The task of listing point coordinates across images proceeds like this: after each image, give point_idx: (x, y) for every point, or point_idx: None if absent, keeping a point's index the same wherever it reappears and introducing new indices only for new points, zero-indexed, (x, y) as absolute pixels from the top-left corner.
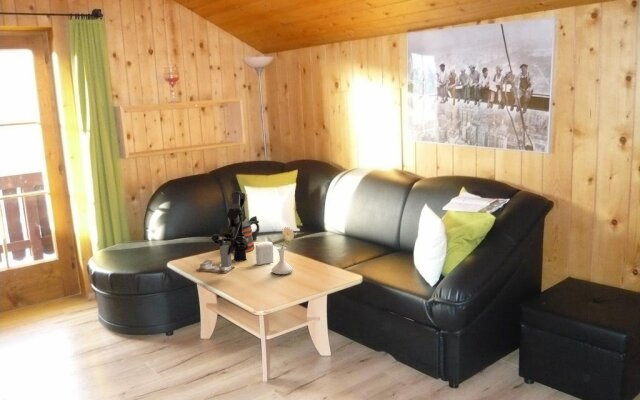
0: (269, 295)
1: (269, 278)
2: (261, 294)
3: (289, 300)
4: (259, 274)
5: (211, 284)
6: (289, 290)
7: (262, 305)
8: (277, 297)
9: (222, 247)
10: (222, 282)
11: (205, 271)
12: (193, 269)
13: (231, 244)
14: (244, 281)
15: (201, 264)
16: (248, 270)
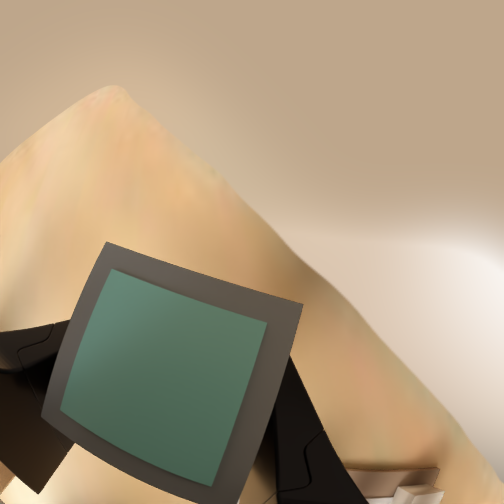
0: (60, 151)
1: (18, 324)
2: (77, 154)
3: (35, 134)
4: None
5: (300, 258)
6: (5, 193)
7: (98, 99)
8: (48, 143)
9: (225, 286)
10: None
11: (393, 470)
12: (450, 481)
13: (2, 356)
14: None
15: (433, 491)
16: (119, 486)
